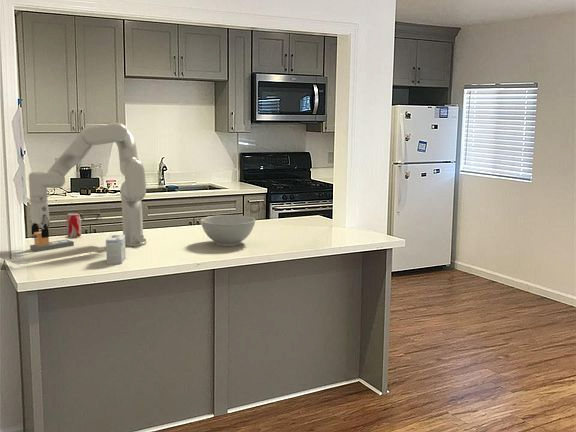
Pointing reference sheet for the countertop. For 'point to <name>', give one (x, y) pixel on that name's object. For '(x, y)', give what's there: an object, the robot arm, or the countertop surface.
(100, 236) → the countertop surface
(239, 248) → the countertop surface
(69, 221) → the soda can
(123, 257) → the light grey box
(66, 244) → the power strip
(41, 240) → the charger
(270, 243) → the countertop surface
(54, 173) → the robot arm
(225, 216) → the decorative bowl
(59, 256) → the countertop surface
